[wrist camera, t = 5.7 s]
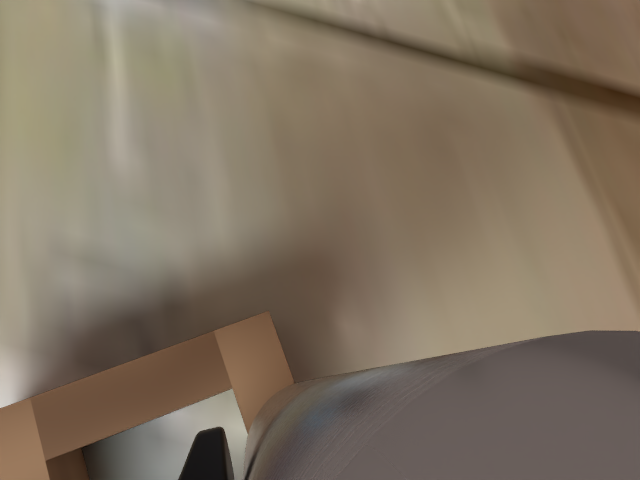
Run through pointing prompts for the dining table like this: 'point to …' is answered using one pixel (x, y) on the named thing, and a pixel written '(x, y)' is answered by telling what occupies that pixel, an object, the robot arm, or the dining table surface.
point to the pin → (463, 417)
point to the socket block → (140, 397)
